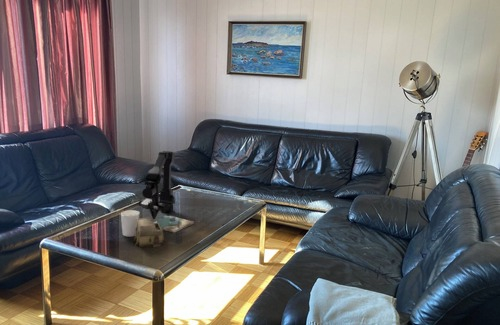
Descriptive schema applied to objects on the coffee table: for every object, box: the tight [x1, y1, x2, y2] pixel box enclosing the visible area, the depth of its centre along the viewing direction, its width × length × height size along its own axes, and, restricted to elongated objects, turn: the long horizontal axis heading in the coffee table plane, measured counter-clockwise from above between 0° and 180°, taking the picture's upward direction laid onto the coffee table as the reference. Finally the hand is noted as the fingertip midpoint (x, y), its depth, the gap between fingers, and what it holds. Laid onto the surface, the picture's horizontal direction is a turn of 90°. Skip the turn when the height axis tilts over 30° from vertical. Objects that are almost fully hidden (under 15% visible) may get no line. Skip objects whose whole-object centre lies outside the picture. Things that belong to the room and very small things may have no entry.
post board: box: [152, 215, 195, 234], centre depth 235 cm, size 18×18×5 cm
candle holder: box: [120, 209, 141, 238], centre depth 218 cm, size 10×10×12 cm
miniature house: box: [133, 217, 166, 248], centre depth 208 cm, size 15×14×11 cm
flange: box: [156, 215, 181, 228], centre depth 232 cm, size 16×10×5 cm, turn 151°
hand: (154, 219), depth 233 cm, fingers closed
